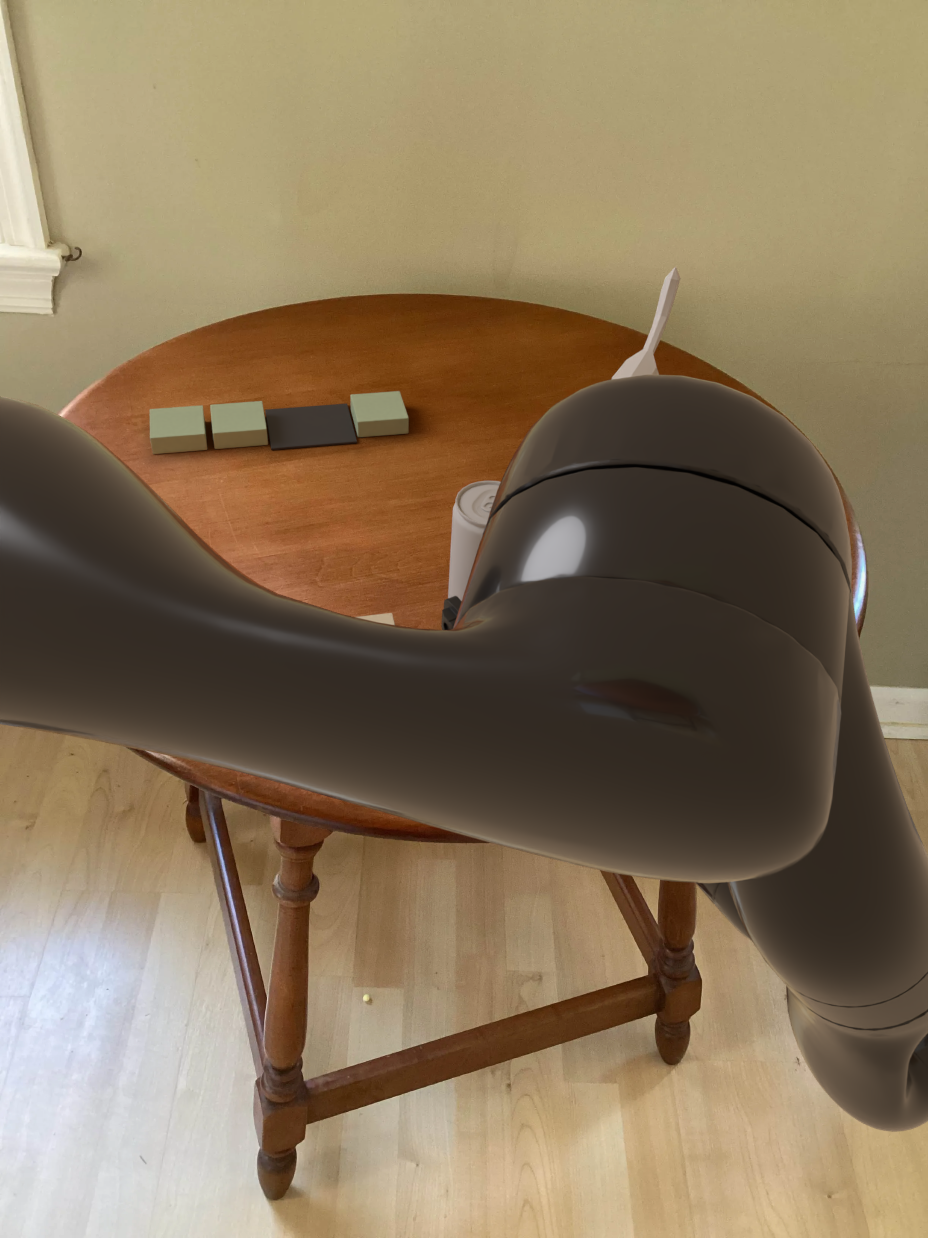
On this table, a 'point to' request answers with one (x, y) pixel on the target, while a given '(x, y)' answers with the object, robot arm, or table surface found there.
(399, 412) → the far word
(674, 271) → the cat figurine
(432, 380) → the table surface
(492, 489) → the beverage can
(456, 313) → the table surface
